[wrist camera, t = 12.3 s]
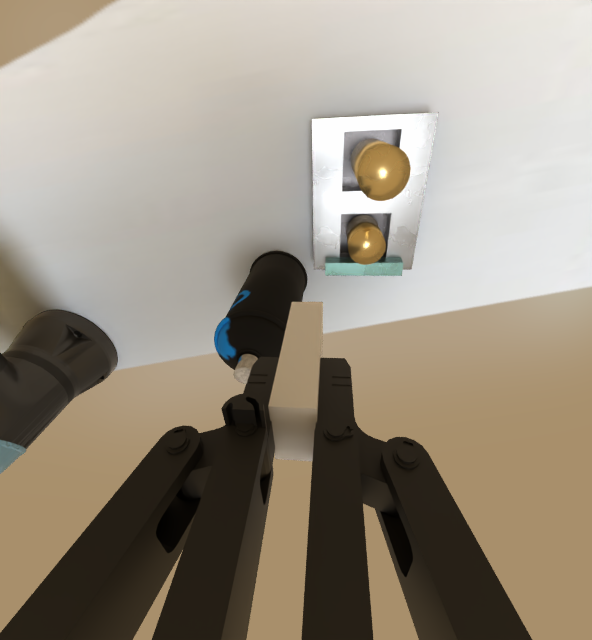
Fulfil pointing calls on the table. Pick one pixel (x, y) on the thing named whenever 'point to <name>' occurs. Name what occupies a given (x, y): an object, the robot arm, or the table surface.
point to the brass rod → (380, 169)
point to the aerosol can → (260, 312)
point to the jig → (355, 207)
